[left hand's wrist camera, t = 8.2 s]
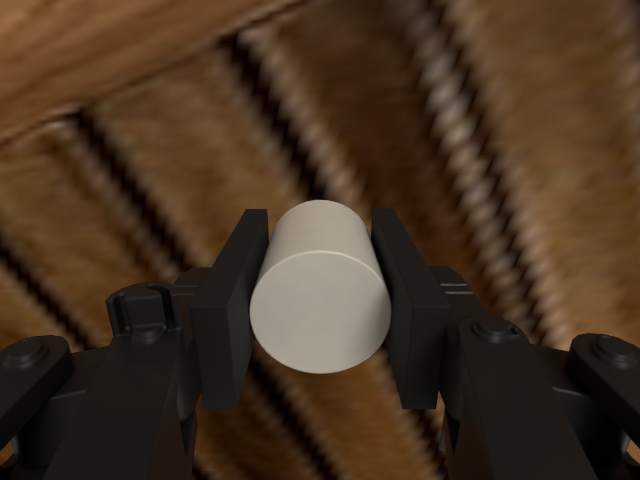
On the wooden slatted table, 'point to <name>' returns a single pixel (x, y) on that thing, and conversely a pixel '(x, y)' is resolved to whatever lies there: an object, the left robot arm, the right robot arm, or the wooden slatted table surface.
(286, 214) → the canister
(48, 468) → the left robot arm
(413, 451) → the wooden slatted table surface
